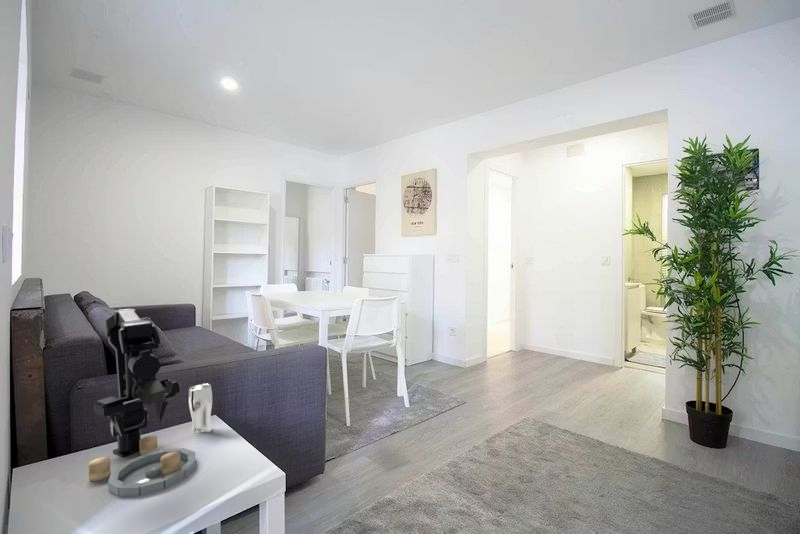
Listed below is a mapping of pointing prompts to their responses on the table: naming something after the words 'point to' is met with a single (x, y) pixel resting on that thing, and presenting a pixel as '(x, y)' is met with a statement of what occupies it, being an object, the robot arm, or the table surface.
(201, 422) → the beer glass
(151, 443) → the bead
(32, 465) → the table surface
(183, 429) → the table surface
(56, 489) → the table surface
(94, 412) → the robot arm
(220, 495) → the table surface
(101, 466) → the bead
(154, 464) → the tray
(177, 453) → the tan short rounded cylinder
